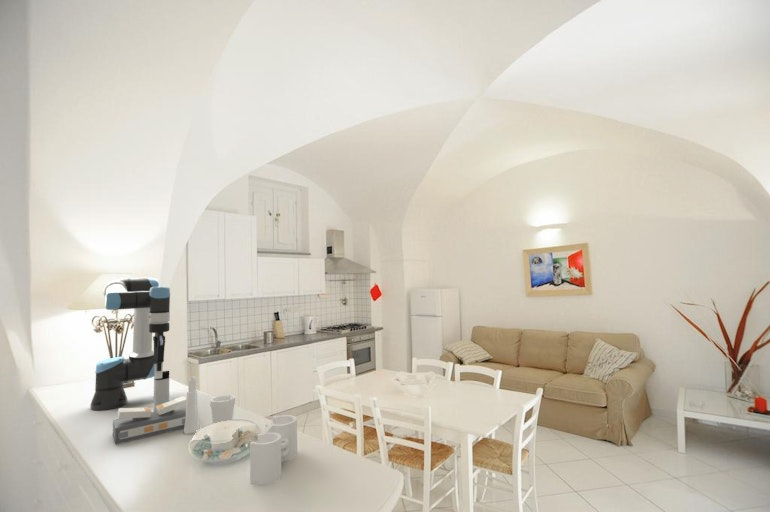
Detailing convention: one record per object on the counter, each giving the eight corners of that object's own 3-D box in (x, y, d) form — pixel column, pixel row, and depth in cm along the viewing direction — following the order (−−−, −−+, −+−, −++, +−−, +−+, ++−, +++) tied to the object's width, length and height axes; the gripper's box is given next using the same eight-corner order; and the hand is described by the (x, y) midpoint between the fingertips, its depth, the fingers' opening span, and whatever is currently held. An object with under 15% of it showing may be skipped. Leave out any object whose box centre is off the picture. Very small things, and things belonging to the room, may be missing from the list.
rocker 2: (156, 411, 162) (155, 405, 162) (184, 401, 169) (183, 395, 169) (159, 415, 158) (157, 409, 157) (187, 404, 164) (186, 398, 164)
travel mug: (162, 417, 174) (163, 373, 175) (150, 416, 175) (150, 372, 177) (172, 412, 180) (173, 369, 181) (160, 411, 181) (161, 369, 183)
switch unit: (112, 434, 155) (113, 416, 155) (185, 418, 172) (186, 402, 172) (115, 444, 145) (115, 425, 145) (192, 426, 162) (192, 409, 162)
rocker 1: (117, 414, 153) (118, 407, 154) (148, 413, 160) (149, 406, 161) (118, 418, 149) (120, 411, 149) (150, 417, 156) (151, 410, 156)
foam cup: (210, 436, 151) (211, 403, 151) (209, 428, 159) (209, 397, 160) (236, 431, 155) (236, 399, 156) (233, 424, 163) (233, 393, 164)
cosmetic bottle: (203, 429, 158) (203, 376, 159) (189, 435, 153) (190, 379, 154) (193, 427, 161) (194, 374, 162) (180, 432, 156) (180, 378, 157)
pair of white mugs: (277, 485, 114) (277, 444, 114) (246, 485, 114) (246, 444, 115) (300, 448, 138) (300, 414, 139) (274, 448, 139) (274, 414, 140)
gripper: (146, 322, 166) (145, 376, 164) (151, 324, 156) (150, 383, 154) (166, 320, 170) (165, 373, 169) (172, 323, 160) (171, 379, 159)
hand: (158, 378), depth 162 cm, fingers closed
